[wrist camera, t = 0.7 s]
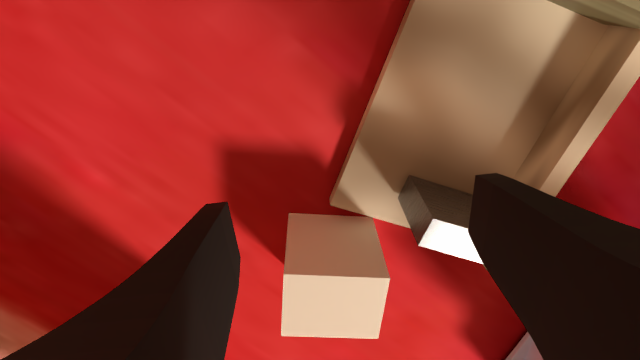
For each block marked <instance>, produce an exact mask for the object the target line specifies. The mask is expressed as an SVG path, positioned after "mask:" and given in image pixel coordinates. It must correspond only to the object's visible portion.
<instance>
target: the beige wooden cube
mask: <svg viewBox="0 0 640 360" xmlns="http://www.w3.org/2000/svg"><path fill="white" fill-rule="evenodd" d="M389 281H390V277H389V273H388V270H387V266H386V263H385V259H384V256H383V252H382V249H381V245H380V242H379V238H378V235H377V231H376V228H375V224H374V221H373V217H362V216H341V215H321V214H300V213H289V216H288V228H287V240H286V252H285V265H284V279H283V303H282V327H281V336H298V337H333V338H367V339H378V337H379V332H380V327H381V321H382V316H383V311H384V306H385V301H386V296H387V291H388V286H389Z"/></svg>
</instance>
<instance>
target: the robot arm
mask: <svg viewBox="0 0 640 360" xmlns="http://www.w3.org/2000/svg"><path fill="white" fill-rule="evenodd" d="M468 233H469V236H470V238H471V240H472V242H473V245H474V247H475V249H476V251H477V253H478V255H479V257H480V259H481V261H482V263H483V264H484V266H485V267H486V269H487V270H488V272H489V273H490V275H491V276H492V278H493V280H494V281H495V283H496V284H497V286H498V287H499V289H500V290H501V292H502V293H503V295H504V296H505V298H506V299H507V301H508V302H509V304H510V305H511V307H512V308H513V310H514V311H515V313H516V314H517V316H518V317H519V318H520V320H521V321H522V323H523V325H524V326H525V328H526V329H527V331H528V332H527V333H526V334H525V335H524V337H523V338H522V339H521V340H520V342H519V343H518V344H517V346H516V347H515V348H514V349H513V351H512V352H511V353H510V354H509V356H508V357H507V358H506V359H505V360H640V229H638V228H635V227H632V226H628V225H625V224H623V223H620V222H617V221H614V220H611V219H608V218H606V217H603V216H601V215H598V214H595V213H593V212H590V211H588V210H585V209H582V208H580V207H578V206H575V205H573V204H570V203H568V202H565V201H563V200H561V199H558V198H556V197H554V196H551V195H549V194H547V193H545V192H542V191H540V190H538V189H535V188H533V187H531V186H529V185H526V184H524V183H522V182H519V181H517V180H515V179H512V178H510V177H507V176H504V175H501V174H498V173H490V174H481V175H475V182H474V190H473V197H472V205H471V212H470V220H469V227H468ZM239 274H240V253H239V249H238V245H237V241H236V236H235V232H234V228H233V223H232V219H231V215H230V211H229V206H228V202H221V203H212V204H206V205H205V206H204V207H202V208H201V209H200V210H199V211H198V212H197V214H196V215H195V216H194V217H193V218H192V219H191V220H190V221H189V222H188V223H187V224H186V225H185V226H184V227H183V228H182V229H181V230H180V231H179V232H178V233H177V234H176V235H175V236H174V237H173V238H172V239H171V240H170V241H169V242H168V243H167V244H166V245H165V246H164V247H163V248H162V249H161V250H160V251H158V252H157V253H156V254H155V255H154V256H153V257H152V258H151V259H150V260H149V261H147V262H146V263H145V264H144V265H143V266H142V267H141V268H140V269H139V270H137V271H136V272H135V273H134V274H133V275H131V276H130V277H129V278H128V279H126V280H125V281H124V282H123V283H121V284H120V285H119V286H117V287H116V288H115V289H113V290H112V291H111V292H109V293H108V294H107V295H105V296H104V297H103V298H101V299H100V300H98V301H97V302H95V303H94V304H92V305H91V306H89V307H88V308H86V309H85V310H83V311H82V312H80V313H79V314H77V315H76V316H74V317H73V318H71V319H70V320H68V321H67V322H65V323H64V324H62V325H61V326H59V327H57V328H56V329H54V330H52V331H51V332H49V333H47V334H46V335H44V336H42V337H41V338H39V339H37V340H36V341H34V342H32V343H30V344H28V345H27V346H25V347H23V348H21V349H19V350H18V351H16V352H14V353H12V354H10V355H9V356H7V357H5V358H3V359H1V360H224V357H225V352H226V347H227V343H228V338H229V333H230V328H231V323H232V318H233V313H234V308H235V303H236V298H237V293H238V287H239Z"/></svg>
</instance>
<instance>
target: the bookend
mask: <svg viewBox="0 0 640 360" xmlns="http://www.w3.org/2000/svg"><path fill="white" fill-rule="evenodd" d="M472 197H473V195H472V194H469V193H466V192H462V191H459V190H456V189H453V188H450V187H447V186H443V185H440V184H437V183H434V182H431V181H428V180H424V179H421V178H418V177H415V176H412V175H409V176H408V178H407V180H406V182H405V184H404V186H403V188H402V190H401V192H400V194H399V196H398V200H399V202H400V205H401V207H402V209H403V212H404V214H405V216H406V219H407V221H408V223H409V225H410V228H411V230H412V232H413V235H414V237H415V239H416V242H417V244H418V246H421V247H425V248H428V249H432V250H436V251H439V252H443V253H446V254H450V255H453V256H457V257H460V258H464V259H467V260H471V261H475V262H478V263H482V261H481V259H480V257H479V255H478V253H477V251H476V249H475V247H474V245H473V242H472V240H471V238H470V236H469V233H468V227H469V220H470V212H471V205H472ZM482 264H483V263H482Z"/></svg>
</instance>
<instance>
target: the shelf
mask: <svg viewBox="0 0 640 360" xmlns="http://www.w3.org/2000/svg"><path fill="white" fill-rule="evenodd" d="M639 76H640V0H410V2H409V5H408V7H407V10H406V12H405V14H404V17H403V19H402V22H401V24H400V27H399V29H398V32H397V34H396V37H395V39H394V41H393V44H392V46H391V49H390V51H389V54H388V56H387V59H386V61H385V63H384V66H383V68H382V71H381V73H380V76H379V78H378V81H377V83H376V85H375V88H374V90H373V93H372V95H371V98H370V100H369V103H368V105H367V107H366V110H365V112H364V115H363V117H362V120H361V122H360V125H359V127H358V129H357V132H356V134H355V137H354V139H353V142H352V144H351V147H350V149H349V152H348V154H347V156H346V159H345V161H344V164H343V166H342V169H341V171H340V174H339V176H338V178H337V181H336V183H335V186H334V188H333V191H332V193H331V196H330V198H329V199H330V205H331V206H335V207H338V208H342V209H345V210H349V211H352V212H355V213H359V214H362V215H366V216H369V217H373V218H376V219H380V220H383V221H387V222H390V223H394V224H397V225H400V226H404V227H407V228H410V225H409V223H408V221H407V219H406V216H405V214H404V212H403V209H402V207H401V205H400V202H399V200H398V196H399V194H400V192H401V190H402V188H403V186H404V184H405V182H406V180H407V178H408V176H409V175H412V176H415V177H418V178H421V179H424V180H428V181H431V182H434V183H437V184H440V185H443V186H447V187H450V188H453V189H456V190H459V191H462V192H466V193H469V194H472V195H473V190H474V182H475V175H481V174H490V173H498V174H501V175H504V176H507V177H510V178H512V179H515V180H517V181H519V182H522V183H524V184H526V185H529V186H531V187H533V188H535V189H538V190H540V191H542V192H545V193H547V194H549V195H551V196H554V197H556V195H557V194H558V192H559V191H560V190H561V188H562V187H563V185H564V184H565V182H566V181H567V179H568V178H569V177H570V175H571V174H572V172H573V171H574V169H575V168H576V167H577V165H578V164H579V162H580V161H581V159H582V158H583V156H584V155H585V154H586V152H587V151H588V149H589V148H590V146H591V145H592V144H593V142H594V141H595V139H596V138H597V136H598V135H599V134H600V132H601V131H602V129H603V128H604V126H605V125H606V123H607V122H608V121H609V119H610V118H611V116H612V115H613V113H614V112H615V111H616V109H617V108H618V106H619V105H620V103H621V102H622V101H623V99H624V98H625V96H626V95H627V93H628V92H629V90H630V89H631V88H632V86H633V85H634V83H635V82H636V80H637V79H638V78H639ZM483 266H484V264H483ZM484 267H485V266H484ZM485 269H486V267H485ZM486 270H487V269H486Z"/></svg>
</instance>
